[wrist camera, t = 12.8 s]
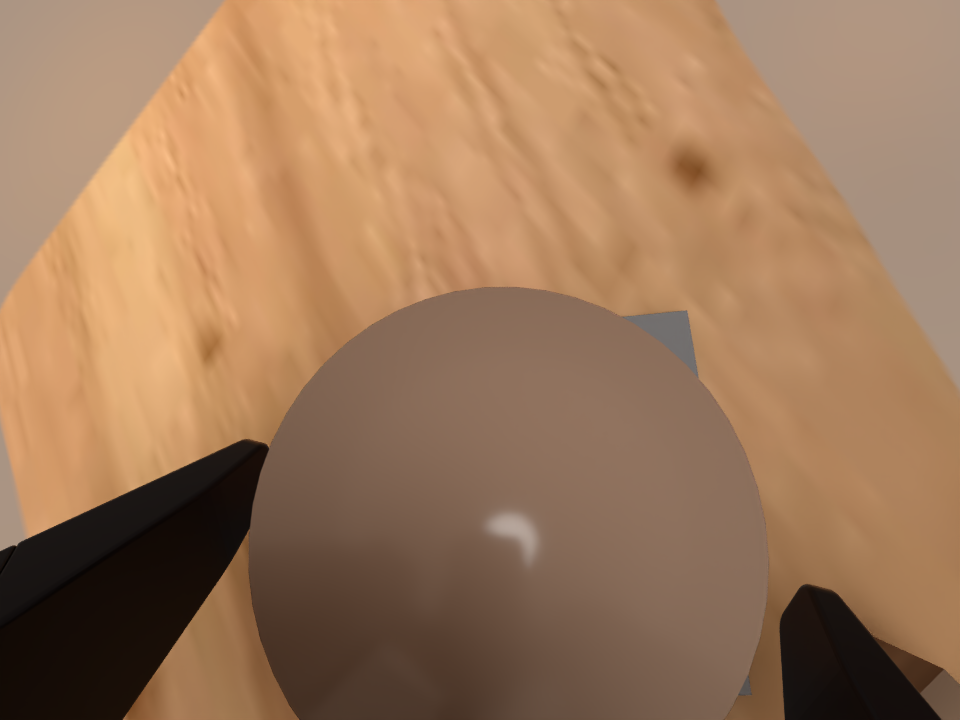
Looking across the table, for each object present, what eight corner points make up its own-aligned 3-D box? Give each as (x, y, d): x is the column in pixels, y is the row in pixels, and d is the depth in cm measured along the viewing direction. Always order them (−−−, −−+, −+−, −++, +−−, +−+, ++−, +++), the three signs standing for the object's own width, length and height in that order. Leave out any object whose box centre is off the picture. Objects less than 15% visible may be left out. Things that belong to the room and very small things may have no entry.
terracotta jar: (644, 513, 17) (894, 575, 5) (522, 620, 17) (455, 980, 5) (538, 393, 19) (522, 199, 6) (423, 490, 18) (161, 493, 6)
